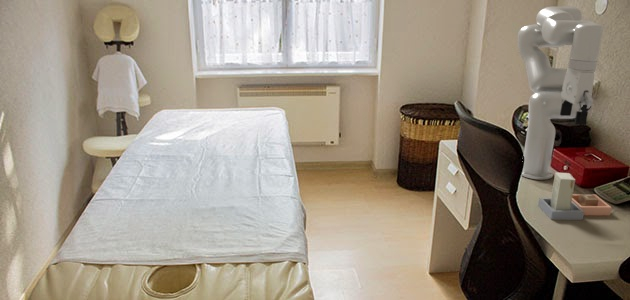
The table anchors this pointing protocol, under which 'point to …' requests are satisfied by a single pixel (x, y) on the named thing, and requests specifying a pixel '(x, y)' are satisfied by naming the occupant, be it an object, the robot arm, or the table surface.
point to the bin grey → (561, 211)
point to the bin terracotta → (593, 210)
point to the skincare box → (562, 191)
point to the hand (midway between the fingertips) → (572, 119)
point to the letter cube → (587, 200)
